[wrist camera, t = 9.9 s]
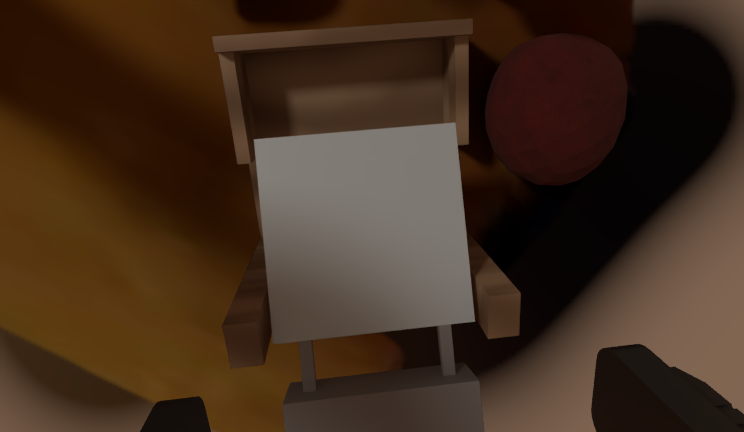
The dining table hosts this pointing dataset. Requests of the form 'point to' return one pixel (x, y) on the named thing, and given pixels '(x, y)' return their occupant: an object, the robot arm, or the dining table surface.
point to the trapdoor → (369, 271)
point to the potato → (556, 108)
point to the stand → (348, 113)
